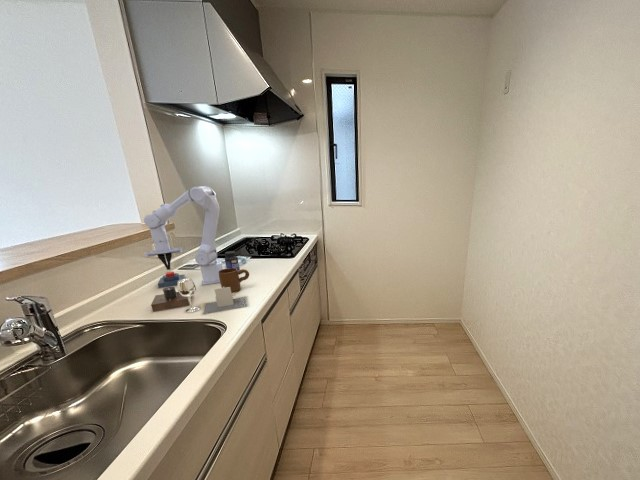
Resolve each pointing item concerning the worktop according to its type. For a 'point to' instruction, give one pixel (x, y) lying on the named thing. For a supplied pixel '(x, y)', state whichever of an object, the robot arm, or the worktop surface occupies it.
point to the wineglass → (187, 291)
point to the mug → (232, 278)
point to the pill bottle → (231, 260)
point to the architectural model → (224, 301)
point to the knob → (169, 292)
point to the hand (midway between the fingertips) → (168, 269)
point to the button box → (170, 280)
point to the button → (170, 274)
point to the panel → (169, 302)
